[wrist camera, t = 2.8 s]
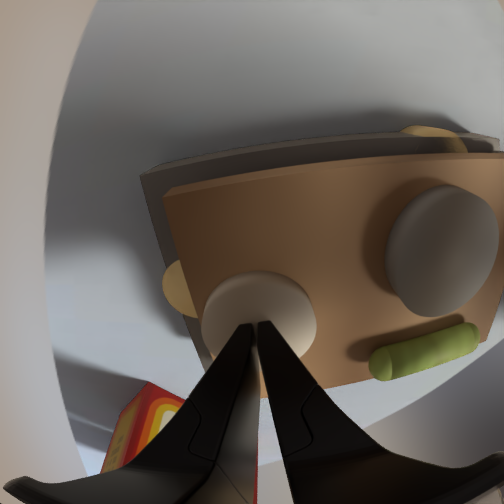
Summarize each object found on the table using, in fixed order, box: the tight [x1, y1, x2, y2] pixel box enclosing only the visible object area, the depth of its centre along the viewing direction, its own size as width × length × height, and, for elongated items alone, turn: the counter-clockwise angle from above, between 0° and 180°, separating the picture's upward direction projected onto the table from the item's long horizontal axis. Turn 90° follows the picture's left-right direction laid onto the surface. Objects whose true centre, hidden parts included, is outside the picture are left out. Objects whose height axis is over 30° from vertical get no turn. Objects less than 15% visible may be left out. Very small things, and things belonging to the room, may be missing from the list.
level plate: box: [162, 151, 504, 398], centre depth 10 cm, size 14×9×3 cm, turn 100°
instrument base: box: [140, 125, 499, 372], centre depth 13 cm, size 16×11×2 cm
